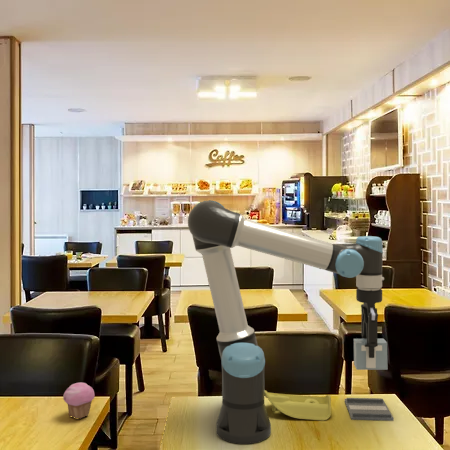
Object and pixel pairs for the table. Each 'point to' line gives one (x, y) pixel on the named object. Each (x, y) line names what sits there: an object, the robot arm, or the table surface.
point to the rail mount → (368, 409)
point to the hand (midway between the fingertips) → (368, 364)
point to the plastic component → (301, 405)
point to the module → (361, 355)
